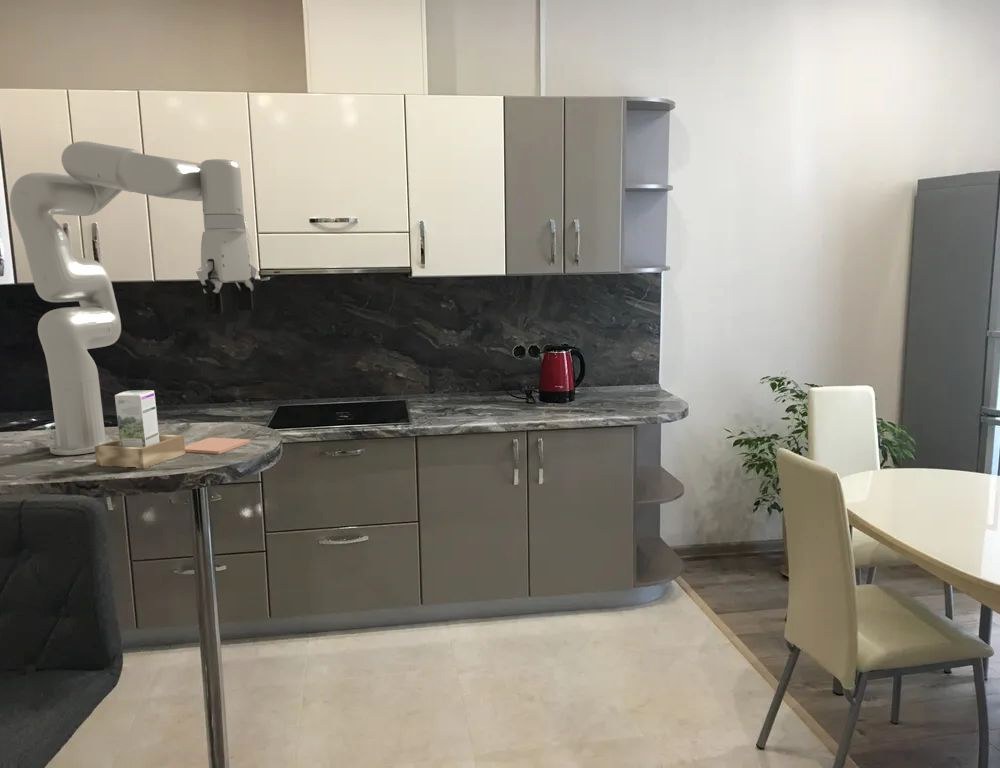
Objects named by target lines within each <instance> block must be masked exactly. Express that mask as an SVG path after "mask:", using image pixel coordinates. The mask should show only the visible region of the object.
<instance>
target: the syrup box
mask: <svg viewBox="0 0 1000 768" xmlns="http://www.w3.org/2000/svg"><path fill="white" fill-rule="evenodd" d="M114 400H115V410H116V418H117V429H118V436H119V439H120V446H121V447H137V448H143V447H146V446H149V445H152V444H155V443H158V442H159V435H160V434H159V426H158V425H159V423H158V414H157V405H156V395H155V390H126V391H122V392H119V393H117V394H114Z"/></svg>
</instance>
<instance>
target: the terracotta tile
mask: <svg viewBox="0 0 1000 768" xmlns="http://www.w3.org/2000/svg"><path fill="white" fill-rule="evenodd" d="M249 443H251V439H248V438H247V439H245V438H230V437H228V438H225V437H207V438H204V439H201V440H198V441H195V442H192V443H190V444H187V445H184V446H185V453H196V454H198V453H199V454H213V455H214V454H216V455H220V454H223V453H225V452H227V451H230V450H233V449H236V448H239V447H240V446H241V447H242V446H243V445H244V446H245V445H247V444H249Z"/></svg>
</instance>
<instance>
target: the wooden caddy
mask: <svg viewBox="0 0 1000 768" xmlns="http://www.w3.org/2000/svg"><path fill="white" fill-rule="evenodd" d="M185 446H186V445H185V437H184V435H175V434H174V435H173V434H159V442H158V443H155V444H152V445H149V446H146V447H143V448H137V447H121V446H120V438H118V439H115V440H113V441H111V442H108V443H104V444H101V445H98V446H94V447H95V452H94V453H95V463H96V466H98V465H100V467H112V466H123V467H122V468H127V467H136V468H135V469H142V468H144V469H147V468H150V467H152V465H153V466H155V464H156V465H158V464H161V463H163V462H166V461H170V460H172V459H176V458H178V457H180V456H184V455H186V452H185ZM149 466H150V467H149ZM146 467H147V468H146Z"/></svg>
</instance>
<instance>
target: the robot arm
mask: <svg viewBox="0 0 1000 768" xmlns="http://www.w3.org/2000/svg"><path fill="white" fill-rule="evenodd" d="M61 166H62V167H63V169H64V171H65V172H66V173H67V175H66V174H59V173H53V172H33V173H32V172H31V173H27V174H24V175H22V176H20V177H19V178H18V179H16V181H15V182H14V183H13V186H12V188H11V190H10V196H9V204H10V205H9V206H10V211H11V215H12V217H13V218H12V219H13V221H14V222H15V225H16V228H17V229H18V232H19V234H20V237H21V239H22V241H23V245H24V251H25V253H26V258H27V263H28V265H29V269H30V273H31V277H32V281H33V285H34V289H35V291H36V293H37V295H38V296H39V297H40V298H41V299H42V300H43V301H46V302H50V303H68V302H78V303H79V306H71V307H69V306H68V307H60V308H56V309H52V310H49V311H47V312H46V313H44V314H43V315H42V317H40V319H39V321H38V325H37V334H38V338H39V341H40V344H41V346H42V350H43V352H44V355H45V360H46V361H45V362H46V366H47V372H48V379H49V387H50V394H51V395H50V396H51V402H52V410H53V417H54V426H55V429H52V430H51V431H50V433H49V432H48V433H46V435H45V437H46V438H45V439H47V440H53V445H51V446H50V447H49V453H51V454H52V455H55V456H76V455H84V454H85V455H86V454H92V453H95V447H94V446H98V445H101V444H104V443H108V442H111V441H114V439H113V438H108V437H106V433H105V424H104V414H103V404H102V396H101V388H100V380H99V371H98V368H97V367H98V366H97V365H96V363H95V360H94V359H93V357H92V356H91V355H90V353H89V352H88V350H90V349H97V348H103V347H108V346H111V345H113V344H115V343H116V342H117V341H118V340H119V338H120V336H121V333H122V323H121V317H120V312H119V309H118V304H117V301H116V297H115V292H114V288H113V283H112V281H111V280H112V279H111V277H110V275H109V273H108V271H107V269H106V268H105V266H103V265H102V264H101V263H100V262H99V261H97V260H94V259H91V258H85V257H83V258H82V257H81V258H79V257H77V258H76V257H74V255H73V253H72V250H71V249H72V248H71V244H70V241H69V238H68V236H67V233H66V232H65V230H64V229H63V227H62V226H61V225H60V223H58V222H57V221H56V220H55V218H54V215H63V216H77V217H87V216H93V215H96V214H97V213H99V212H101V210H102V209H104V208H105V207H106V206H107V205H108V204H110V202H112V201H113V199H115V198H116V197H117V196H118V195H119V194H120V193H122V192H124V191H125V192H129V193H136V194H141V195H147V196H152V197H156V198H162V199H171V200H184V201H191V202H192V201H193V202H201V204H202V215H203V226H204V231H202V235H201V244H200V267H199V268H197V270H196V275H197V277H198V280H199V284H200V285H201V287H202V289H203V293H204V294H205V297H206V309H207V310H206V311H207V314H208V315H215V314H216V315H217V314H219V315H221V314H223V313H224V307H223V305H224V304H223V294H222V292H220V290H221V288H222V286H223V283H227V284H228V283H235V284H236V287H238V289H239V290H237V291H236V292H237V293H236V294H237V306H238V310H239V311H253V310H254V301H253V291H254V288H255V287H254V284H255V282H256V276H257V268H256V267H255V266H253V265H252V264H251V259H250V251H249V245H248V241H247V240H248V239H247V236H246V230H245V229H246V227H245V215H244V202H243V201H244V200H243V199H244V197H243V187H242V186H243V185H242V174H241V173H242V172H241V167H240V165H239V163H238V162H236V161H234V160H230V159H223V158H217V159H216V158H214V159H211V158H210V159H206V160H205V159H204V160H203V161H201V162H195V161H188V160H183V159H176V158H170V157H164V156H163V157H162V156H156V155H150V154H143V153H141V152H139V151H138V150H136V149H134V148H129V147H122V146H115V145H110V144H105V143H99V142H98V143H97V142H93V141H86V140H85V141H84V140H81V141H76V142H72V143H71V144H68V145H67V146H66V147H65V148H64V149H63V152H62V154H61Z"/></svg>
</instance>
